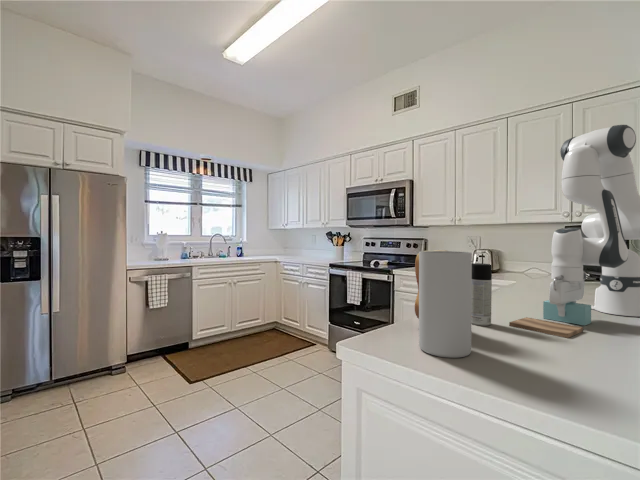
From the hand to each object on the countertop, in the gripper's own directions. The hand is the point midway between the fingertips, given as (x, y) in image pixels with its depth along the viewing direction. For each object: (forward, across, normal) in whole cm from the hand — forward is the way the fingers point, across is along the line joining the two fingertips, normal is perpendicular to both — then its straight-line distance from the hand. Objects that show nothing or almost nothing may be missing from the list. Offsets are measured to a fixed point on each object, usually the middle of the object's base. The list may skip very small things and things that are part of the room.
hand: (566, 314), depth 115 cm
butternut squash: (+2, -46, +19) cm, 50 cm away
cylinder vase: (+2, -61, +6) cm, 62 cm away
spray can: (+2, -28, +15) cm, 32 cm away
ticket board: (+2, -17, 0) cm, 17 cm away
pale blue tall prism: (+2, 0, 0) cm, 2 cm away
